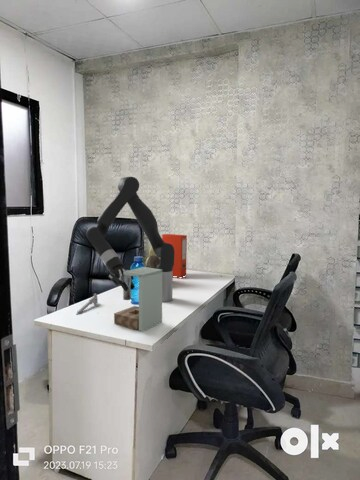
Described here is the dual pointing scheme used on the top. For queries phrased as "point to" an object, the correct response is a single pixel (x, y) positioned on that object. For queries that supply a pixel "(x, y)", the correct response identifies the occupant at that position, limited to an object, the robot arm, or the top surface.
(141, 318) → the pale green block
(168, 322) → the top surface
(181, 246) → the file binder
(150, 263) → the decorative clock
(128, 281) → the steel peg
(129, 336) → the top surface
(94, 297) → the caliper
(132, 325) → the socket block
